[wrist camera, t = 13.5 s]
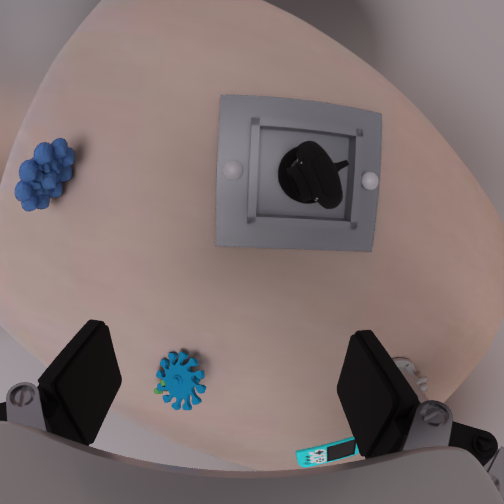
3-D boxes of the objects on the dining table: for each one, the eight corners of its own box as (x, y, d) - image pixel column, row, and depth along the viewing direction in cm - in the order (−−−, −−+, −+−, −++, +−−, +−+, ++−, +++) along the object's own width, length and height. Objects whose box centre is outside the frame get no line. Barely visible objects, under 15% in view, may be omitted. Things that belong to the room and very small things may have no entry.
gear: (190, 343, 40) (208, 405, 35) (212, 345, 45) (229, 400, 40) (144, 361, 43) (158, 416, 38) (166, 363, 48) (180, 412, 43)
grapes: (72, 127, 32) (21, 119, 20) (98, 150, 33) (48, 146, 22) (38, 189, 34) (-12, 199, 22) (62, 213, 35) (12, 230, 24)
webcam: (266, 158, 34) (275, 153, 24) (319, 136, 33) (345, 124, 23) (292, 213, 36) (310, 228, 26) (342, 190, 35) (375, 197, 25)
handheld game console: (295, 448, 52) (296, 453, 51) (360, 432, 52) (361, 436, 51) (298, 465, 55) (299, 469, 54) (357, 450, 55) (358, 454, 53)
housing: (378, 114, 33) (389, 110, 29) (368, 249, 38) (379, 257, 35) (221, 96, 32) (219, 89, 29) (216, 244, 37) (213, 251, 34)
